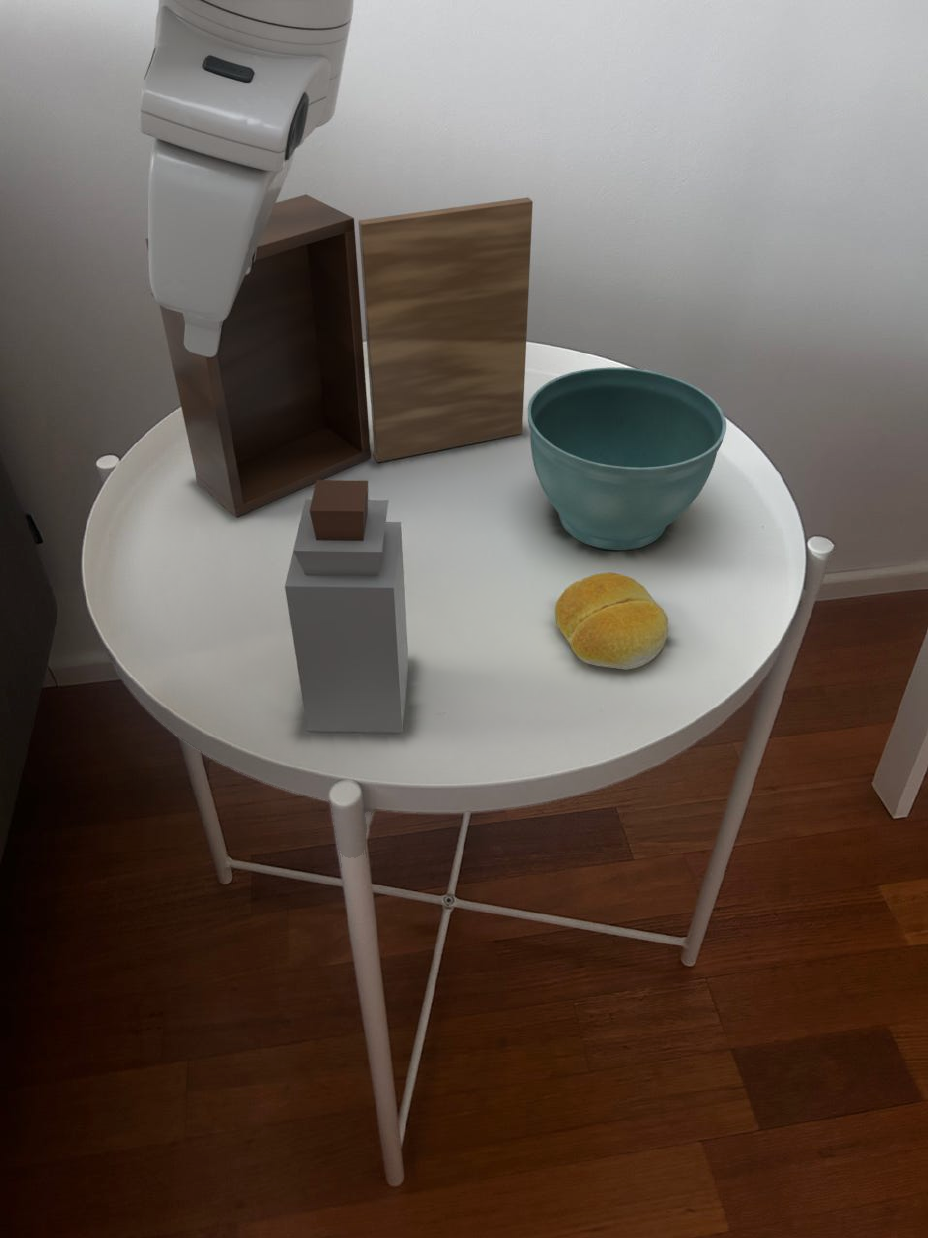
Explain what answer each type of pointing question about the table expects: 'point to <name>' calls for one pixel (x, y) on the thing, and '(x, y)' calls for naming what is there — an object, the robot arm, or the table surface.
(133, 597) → the table surface
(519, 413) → the cupboard door
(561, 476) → the flower pot
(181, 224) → the robot arm
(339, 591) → the perfume bottle
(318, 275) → the cupboard
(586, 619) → the bread roll
